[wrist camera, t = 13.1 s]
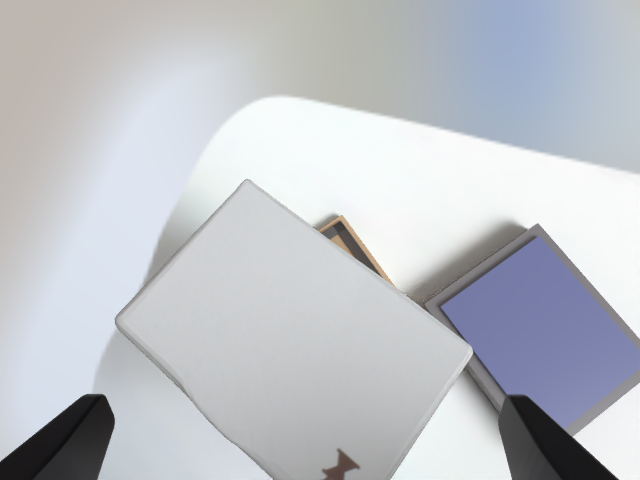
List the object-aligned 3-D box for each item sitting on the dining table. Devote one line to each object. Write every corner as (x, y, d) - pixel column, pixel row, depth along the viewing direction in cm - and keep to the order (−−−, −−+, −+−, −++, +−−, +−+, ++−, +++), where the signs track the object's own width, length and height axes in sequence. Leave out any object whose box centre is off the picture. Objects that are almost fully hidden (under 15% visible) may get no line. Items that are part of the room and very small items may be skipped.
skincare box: (396, 354, 19) (490, 354, 7) (340, 431, 18) (346, 564, 7) (297, 274, 20) (245, 168, 9) (240, 343, 19) (99, 327, 8)
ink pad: (530, 455, 18) (544, 462, 17) (420, 306, 20) (425, 303, 19) (645, 363, 19) (665, 364, 18) (528, 228, 21) (539, 222, 20)
